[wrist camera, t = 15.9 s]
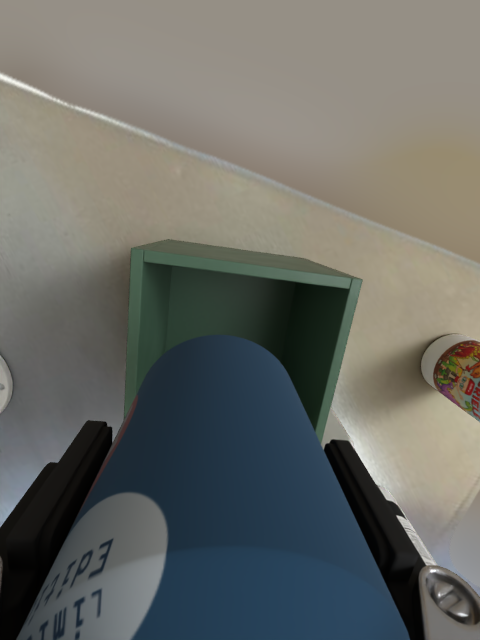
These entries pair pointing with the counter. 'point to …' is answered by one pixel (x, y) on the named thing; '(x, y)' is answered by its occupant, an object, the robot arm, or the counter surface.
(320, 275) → the bread box
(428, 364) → the milk bottle
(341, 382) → the counter surface
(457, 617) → the robot arm
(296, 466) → the soda can
